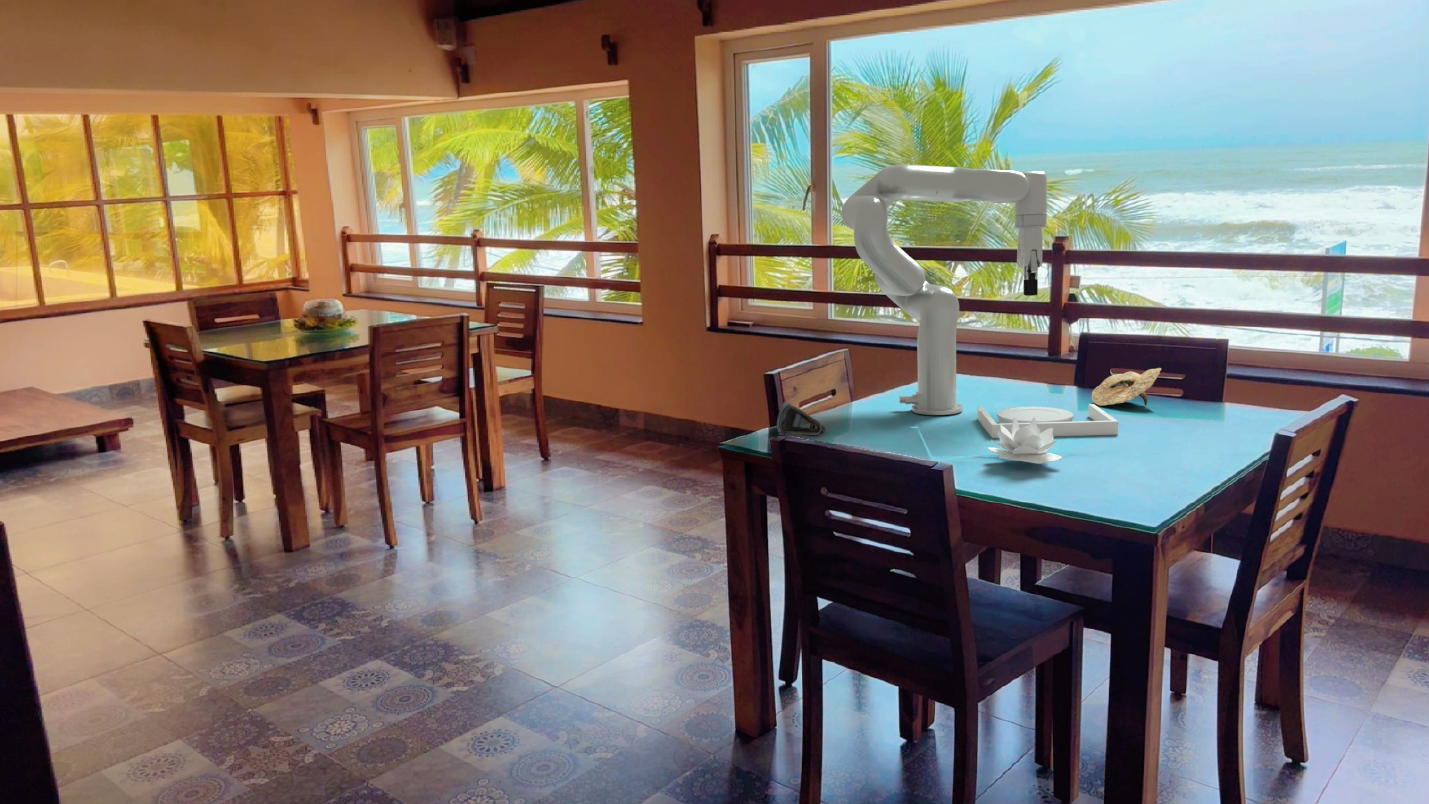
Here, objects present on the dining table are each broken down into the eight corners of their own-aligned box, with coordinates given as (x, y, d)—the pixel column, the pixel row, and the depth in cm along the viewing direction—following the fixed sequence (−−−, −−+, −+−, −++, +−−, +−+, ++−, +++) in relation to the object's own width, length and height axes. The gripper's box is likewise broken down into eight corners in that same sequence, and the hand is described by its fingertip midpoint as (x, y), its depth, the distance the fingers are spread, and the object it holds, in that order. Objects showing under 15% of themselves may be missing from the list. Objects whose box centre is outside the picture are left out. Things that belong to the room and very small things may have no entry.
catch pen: (992, 437, 237) (992, 424, 237) (977, 419, 257) (977, 407, 256) (1118, 434, 235) (1118, 421, 234) (1093, 416, 255) (1093, 403, 254)
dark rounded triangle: (837, 430, 250) (808, 393, 255) (824, 428, 244) (794, 390, 249) (810, 457, 253) (782, 420, 259) (796, 455, 247) (767, 418, 253)
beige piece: (1089, 427, 269) (1076, 401, 268) (1112, 403, 278) (1100, 377, 277) (1154, 413, 255) (1141, 385, 254) (1177, 388, 264) (1164, 361, 263)
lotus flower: (1049, 471, 208) (1049, 427, 207) (976, 463, 217) (976, 421, 215) (1071, 455, 220) (1072, 414, 218) (1001, 448, 228) (1001, 408, 227)
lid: (1032, 440, 235) (1032, 426, 234) (982, 423, 254) (982, 411, 253) (1097, 431, 240) (1097, 418, 240) (1044, 416, 259) (1044, 404, 258)
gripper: (1010, 221, 272) (1010, 293, 276) (1020, 223, 258) (1019, 298, 261) (1041, 220, 271) (1040, 291, 275) (1051, 221, 257) (1051, 297, 260)
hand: (1030, 295), depth 268 cm, fingers closed
